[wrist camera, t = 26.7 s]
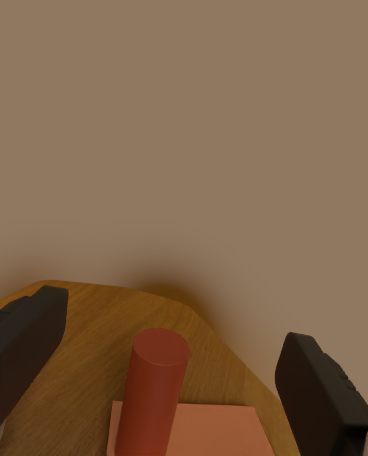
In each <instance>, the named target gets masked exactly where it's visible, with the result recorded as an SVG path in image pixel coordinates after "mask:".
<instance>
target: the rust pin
mask: <svg viewBox="0 0 368 456" xmlns="http://www.w3.org/2000/svg"><path fill="white" fill-rule="evenodd" d="M189 353H190V349H189V345H188V343H187V341H186V340H185V339H184V338H183V337H182V336H181V335H179V334H178V333H176V332H174V331H171V330H168V329H163V328H150V329H146V330H143V331H141V332H140V333H139V334H138V335H137V336H136V337H135V339H134V341H133V347H132V353H131V358H130V364H129V370H128V375H127V381H126V386H125V392H124V398H123V403H122V409H121V415H120V420H119V426H118V431H117V437H116V443H115V450H114V453H115V456H165V455H166V451H167V447H168V442H169V438H170V434H171V430H172V425H173V421H174V417H175V413H176V408H177V404H178V400H179V395H180V391H181V387H182V383H183V378H184V374H185V370H186V366H187V361H188V357H189Z"/></svg>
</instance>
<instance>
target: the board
mask: <svg viewBox="0 0 368 456" xmlns="http://www.w3.org/2000/svg"><path fill="white" fill-rule="evenodd" d="M122 403H123V401H113V403H112V409H111V418H110V426H109V434H108V443H107V451H106V456H115V453H114V450H115V443H116V437H117V431H118V426H119V420H120V415H121V409H122ZM165 456H275V455H274V452H273V450H272V448H271V446H270V443H269V441H268V439H267V436H266V434H265V432H264V429H263V427H262V425H261V422H260V420H259V418H258V416H257V413H256V411H255V409H254V407H253V406H231V405H206V404H180V403H178V404H177V408H176V413H175V417H174V421H173V425H172V430H171V434H170V438H169V442H168V447H167V451H166V455H165Z"/></svg>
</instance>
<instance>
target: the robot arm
mask: <svg viewBox="0 0 368 456" xmlns="http://www.w3.org/2000/svg"><path fill="white" fill-rule="evenodd" d="M67 304H68V290H67V289H65V288H60V287H54V286H49V285H44V286H43V287H42V288H41V289H39V290H38V291H37V292H36V293H35V294H33V295H32V296H31V297H29V296H24V297H22V298H19V299H17V300H14V301H12V302H10V303H8V304H7V305H6V306H5V307H3V308H2V309H1V310H0V426H1V424H2V423H3V422H4V420H5V419H6V418H7V416H8V415H9V413H10V412H11V411H12V409H13V408H14V407H15V405H16V404H17V402H18V401H19V400H20V398H21V397H22V395H23V394H24V393H25V391H26V390H27V389H28V387H29V386H30V384H31V383H32V382H33V380H34V379H35V378H36V376H37V375H38V373H39V372H40V371H41V369H42V368H43V366H44V365H45V364H46V362H47V361H48V360H49V358H50V357H51V355H52V354H53V353H54V351H55V350H56V348H57V347H58V346H59V344H60V342H61V340H62V337H63V334H64V331H65V324H66V314H67ZM275 384H276V388H277V391H278V394H279V396H280V399H281V402H282V405H283V408H284V410H285V413H286V416H287V419H288V421H289V424H290V427H291V430H292V432H293V435H294V438H295V441H296V443H297V446H298V449H299V452H300V454H301V456H368V405H367V403H366V402H365V400H364V399H363V398H362V396H361V395H360V393H359V392H358V391H356V388H355V386H354V385H353V384H352V382H351V381H350V380H348V376H347V375H346V374H345V372H344V371H343V369H342V368H341V367H340V365H339V364H337V363H336V362H335V361H334V360H333V359H332V358H330V356H328V355H327V354H326V353H323V351H322V350H321V348H320V347H319V345H318V344H317V342H316V341H315V339H314V338H313V337H311V336H308V335H303V334H298V333H293V332H289V333H288V334H287V336H286V338H285V341H284V344H283V347H282V351H281V354H280V357H279V360H278V363H277V366H276V371H275Z"/></svg>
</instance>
